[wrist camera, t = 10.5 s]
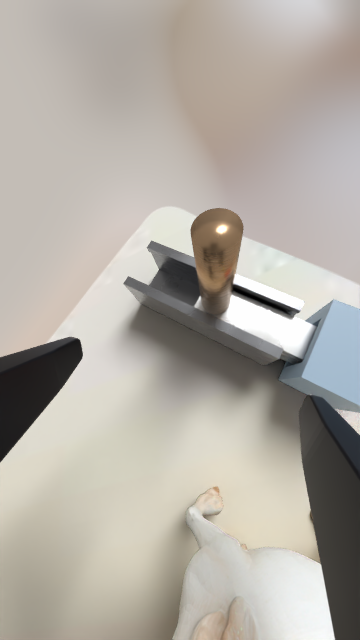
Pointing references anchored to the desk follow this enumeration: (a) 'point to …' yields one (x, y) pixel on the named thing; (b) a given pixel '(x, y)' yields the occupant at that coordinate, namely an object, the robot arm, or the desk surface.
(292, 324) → the panel with brass knob
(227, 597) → the unicorn figurine
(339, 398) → the light blue block
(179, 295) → the sleeve
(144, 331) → the desk surface
